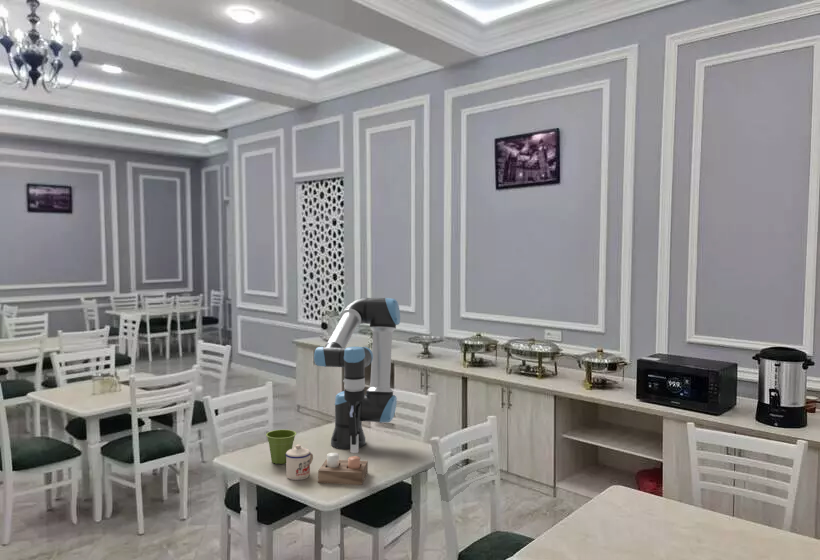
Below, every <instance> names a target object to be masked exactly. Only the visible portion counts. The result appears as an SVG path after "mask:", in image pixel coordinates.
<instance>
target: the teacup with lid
mask: <svg viewBox="0 0 820 560" xmlns="http://www.w3.org/2000/svg"><path fill="white" fill-rule="evenodd" d="M313 460H314V455H313V453H311V451H310V449H308V448H305V447H303V446H302V445H301V444H296V445H295V446H294V447H292V449H290V450H288V451H287V452H286V463H285V464H286V465H285V466H286V468H285V469H286V471H285V472H286V475H285V476H286V478H287V479H289V480H294V481H299V480H305V479H308V477H309V476H310V474H311V473H310V472H311V467H310V466H311V464H312V462H313Z"/></svg>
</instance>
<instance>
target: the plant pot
mask: <svg viewBox="0 0 820 560" xmlns="http://www.w3.org/2000/svg"><path fill="white" fill-rule="evenodd" d="M296 435H297V432H296V431H294V430H291V429H274V430H271V431H268V432H266V434H265V436H266V437H267V442H268V447H269V452H270V458H271V459H270V460H271V463H273V464H274V463H275V465H278V464H281V465H284V464H286V452H287V451H288V450H290V449H293V445H294V441H295V437H296Z"/></svg>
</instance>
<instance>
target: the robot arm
mask: <svg viewBox="0 0 820 560" xmlns="http://www.w3.org/2000/svg"><path fill="white" fill-rule="evenodd" d="M400 323H401V310H400V305H399V303H398V301H397V299H395V298H390V297H360V298H358V299H355V300H353V301H352V302H350V303H348V305H346V306H345V307H344V308H343V309H342V311H341V313H340V315H339V321H338V323H337V324H336V326H335V328H334V330H333V331H332V334H331V335H330V337H329V339H328V340H327V342H326V344H325V346H317V347H316V348H315V350H314V355H313V360H314V361H313V362H314V364H315V365H316V366H318V367H324V368H326V367H328V368H343V369H344V371H343V372H344V373H343V374H344V379H343V380H342V383H343V384H344V385H343V386H344V390H343V391H340V392H338V393H337V394H336V395H335V398H334V399H335V402H334V429H333V432H332V435H331V437H330V438H331V439H330V445H331V446H332V447H333V448H336V449H341V450H350V453H351V454H353V453H354V454H359V448H362V447H364V446H365V445H366V440H367V439H366V436H365V433H364V430H363V425H362V422H368V423H369V422H371V423H380V424H383V423H390V422H392V421H393V419H394V417H395V412H396V410H397V403H398V400H397V399H398V398H397V395H394V390H393V389H392V388H391V371H392V370H391V368H392V367H391V365H392V349H393V345H392V344H393V332H394V331H395V330H396V329H397V325H400ZM361 324H363V325H364V324H365V325H369V329H370V330H371V331H372V343H371V344H372V345H371V347H372V348H371V349H370V348H369V347H367V346H347V345H348V344H349V341H350V339H351V337H352V336H353V334H354V332H355V331H356V329H357V328H358V327H359V326H360V325H361ZM370 365H371V366H370ZM368 366H370V385H369V387H368V388H367V389H366V391H365V388H366V383H365V382H366V378H365V377H366V376H365V373H366V371H365V368H367V367H368ZM365 392H366V393H365Z"/></svg>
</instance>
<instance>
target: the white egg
mask: <svg viewBox="0 0 820 560" xmlns="http://www.w3.org/2000/svg"><path fill="white" fill-rule="evenodd" d="M326 459H327V467H328V468H338V467H339V460H340V454H339V453H338V452H329V453H327V454H326Z"/></svg>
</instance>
